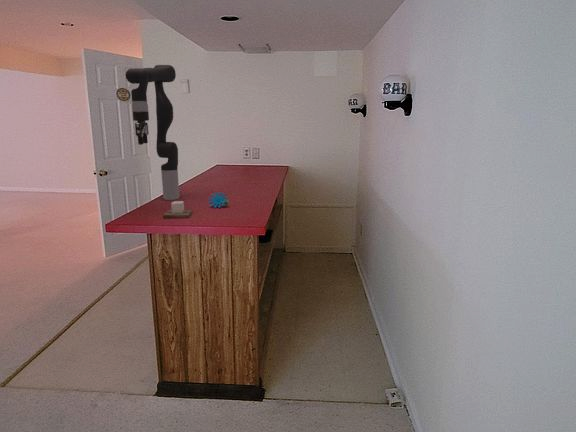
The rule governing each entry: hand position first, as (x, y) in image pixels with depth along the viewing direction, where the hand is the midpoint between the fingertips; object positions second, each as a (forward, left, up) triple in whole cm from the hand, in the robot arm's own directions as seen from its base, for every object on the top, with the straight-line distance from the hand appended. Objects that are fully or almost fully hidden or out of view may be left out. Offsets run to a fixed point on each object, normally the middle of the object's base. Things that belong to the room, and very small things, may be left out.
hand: (143, 143), depth 207 cm
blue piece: (-3, +36, -34) cm, 50 cm away
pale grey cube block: (+14, +18, -33) cm, 40 cm away
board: (+14, +18, -34) cm, 41 cm away
